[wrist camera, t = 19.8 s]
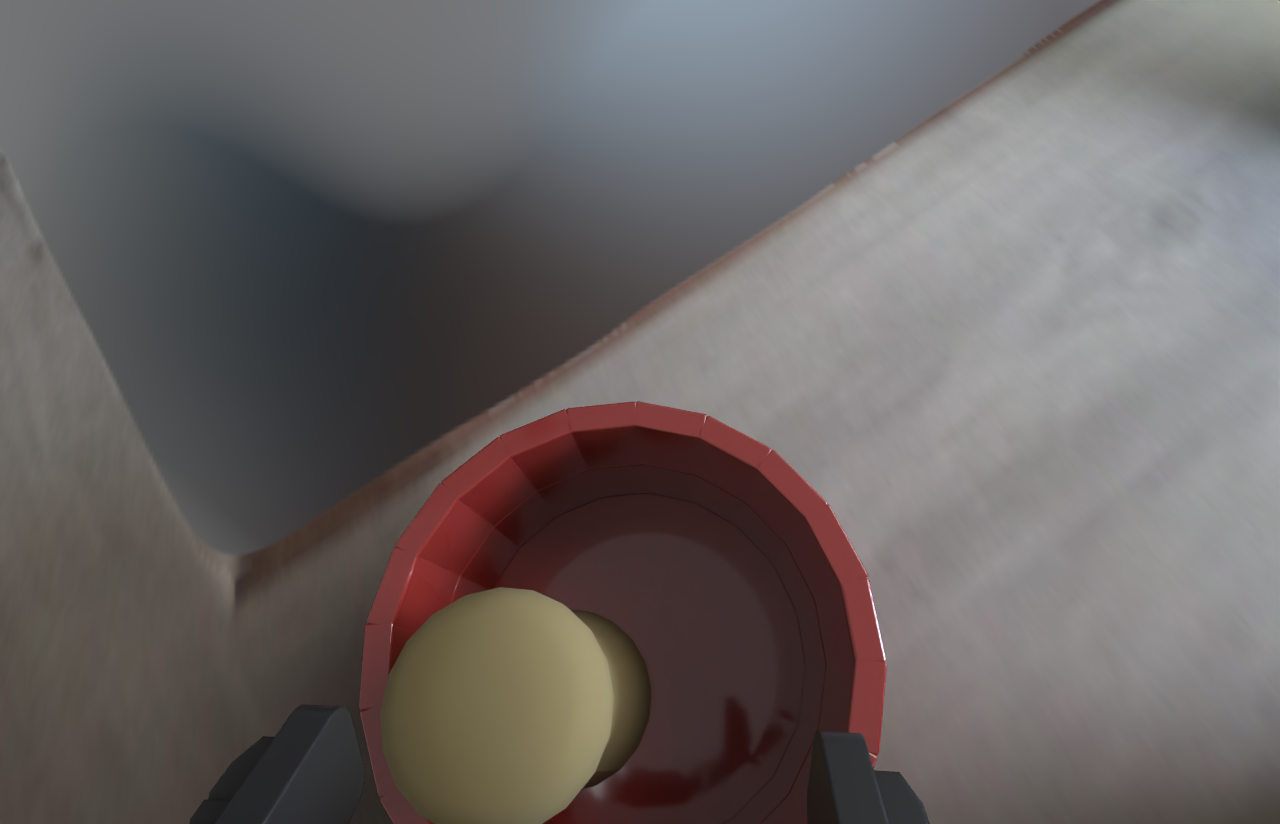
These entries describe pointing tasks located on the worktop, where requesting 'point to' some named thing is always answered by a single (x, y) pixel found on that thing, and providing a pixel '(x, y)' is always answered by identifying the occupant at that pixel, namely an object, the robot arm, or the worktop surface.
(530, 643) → the cork
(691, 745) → the pot
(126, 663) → the worktop surface
